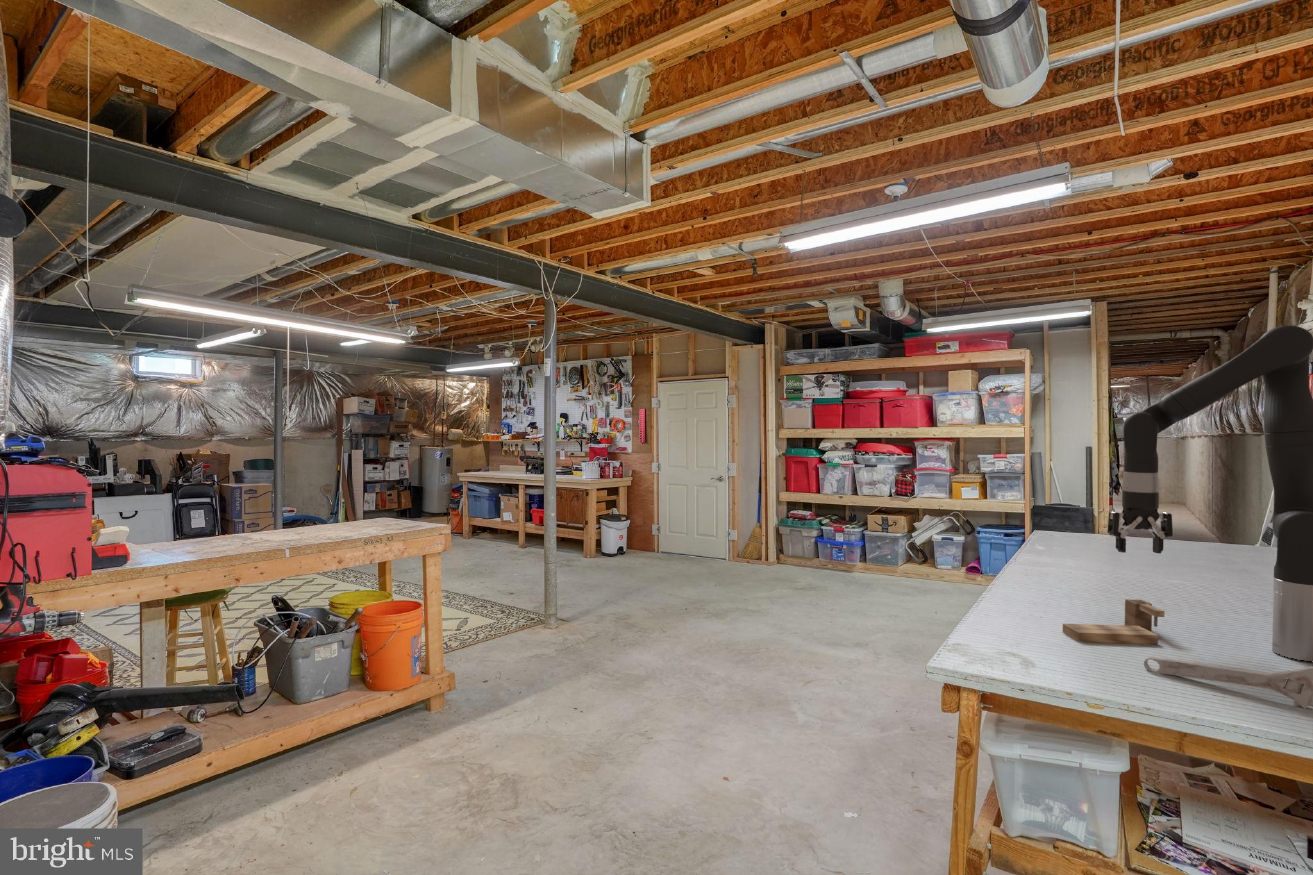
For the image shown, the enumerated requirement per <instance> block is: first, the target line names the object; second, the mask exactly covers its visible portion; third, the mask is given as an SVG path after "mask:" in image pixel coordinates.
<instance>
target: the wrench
mask: <svg viewBox="0 0 1313 875" xmlns="http://www.w3.org/2000/svg"><path fill="white" fill-rule="evenodd" d="M1149 660H1150V661H1151V660H1152V661H1155V663H1156V662H1157V663H1158V666H1159V668H1153V667H1151V666H1150V665H1149V662H1148V661H1149ZM1143 666H1144V669H1146V670H1147V671H1148V672H1149V671H1150V672H1152V673H1157V674H1163V675H1169V676H1170V675H1171V676H1178V677H1186V678H1192V679H1198V680H1207V681H1211V682H1212V681H1213V682H1220V683H1226V684H1235V685H1241V686H1247V687H1252V688H1253V687H1254V688H1261V689H1265V690H1266V689H1267V690H1271V691H1274V692H1276V693H1279V694H1281V695H1284V696H1285V697H1287V698H1289V699H1291V700H1292V701H1294V702H1293V705H1295V706H1297V707H1300V708H1302V709H1304V710H1306V709H1307V707H1308V706H1309V707H1313V665H1312V666H1308V667H1304V668H1300V669H1293V670H1287V671H1278V672H1265V671H1258V670H1257V671H1256V670H1251V669H1244V668H1236V667H1229V666H1228V667H1227V666H1221V665H1215V664H1209V663H1208V664H1207V663H1200V662H1192V661H1187V660H1179V659H1173V658H1165V657H1158V656H1148V657H1147V658H1145V660H1144V661H1143Z"/></svg>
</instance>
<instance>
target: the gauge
mask: <svg viewBox="0 0 1313 875" xmlns="http://www.w3.org/2000/svg"><path fill="white" fill-rule="evenodd" d="M1124 600H1125V601H1124V625H1127V626H1140V627H1142V628H1144V629H1146V630H1148V631H1150V632H1152V630H1153V629H1152V626H1153V627H1156V628H1158V618H1165V614H1166V613H1165V610H1163V609H1161V608H1158V607H1156V606H1153V604H1152V603H1150V602H1148V601H1145V600H1143V599H1129V598H1127V599H1124ZM1152 621H1153V622H1152ZM1152 623H1153V624H1152Z"/></svg>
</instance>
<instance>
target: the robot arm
mask: <svg viewBox="0 0 1313 875" xmlns="http://www.w3.org/2000/svg"><path fill="white" fill-rule="evenodd" d="M1312 352H1313V334H1312V333H1311V332H1310V331H1309V330H1307V329H1306V328H1303V327H1301V326H1298V325H1297V326H1296V325H1289V324H1288V325H1281V326H1276V327H1274V328H1271V329H1269V330H1267V331H1266V332H1265V333H1263V335H1261V337H1260V338H1259V339H1258V340H1256V341H1255V342H1254V343H1252V344H1251V345H1250V346H1249V347H1247V348H1246V349H1245V350H1244V351H1242V352H1241V353H1239V354H1238V355H1236V356H1235V357H1233V358H1231V359H1230V360H1229V361H1226V362H1225V363H1223V364H1221V365H1220V366H1218V367H1216V368H1214V369H1212V370H1210V371H1208V372H1207V373H1205V374H1202V375H1201V376H1199V377H1197V378H1195V379H1193V380H1191V381H1188V382H1187V383H1185V384H1183V385H1181V386H1180V387H1179V388H1176V389H1175V390H1173V391H1171V392H1170V393H1168V394H1166V395H1165V396H1164V397H1163V396H1162V397H1161V399H1160V400H1158V401H1157V402H1155V403H1153V404H1151V405H1150V406H1148V407H1146V408H1144V409H1142V410H1140V411H1138V412H1134V413H1132V414H1130V415H1128V416H1127V417H1126V418H1125V420H1124V422H1123V432H1122V433H1123V443H1124V456H1123V457H1124V458H1123V476H1122V480H1121V481H1122V482H1121V483H1122V485H1121V489H1122V490H1121V491H1122V492H1121V506H1122V510H1121V512H1117V511H1112V510H1110V511H1109V512H1108V521H1107V534H1109V535H1111V536H1114V537H1115V549H1116V550H1117V552H1119V553H1122V554H1123V553H1127V552H1126V551H1127V538H1126V537H1127V536H1128V535H1129V533H1132V532H1133V531H1134V530H1146V531H1148V532H1150V533H1151V534H1152V536H1153V537H1152V552H1153V553H1155V554H1162V552H1163V551H1164V541H1165V539H1166V538H1169V537H1173V534H1174V533H1173V515H1172V513H1169V512H1164V511H1161V512H1158V510H1159V507H1160V506H1159V505H1160V479H1159V478H1160V477H1159V454H1158V451H1157V449H1158V448H1157V447H1158V434H1159V433H1161V432H1163V431H1165V430H1166V429H1168V428H1170V427H1172V426H1173V425H1175V424H1176V423H1177V422H1181V421H1182V420H1184V419H1187V418H1189V417H1191V416H1193V415H1195V414H1197V413H1198V412H1201V411H1203V410H1204V409H1206V408H1208V407H1209V406H1211V405H1213V404H1215V403H1216V402H1219V401H1220V400H1222V399H1223V398H1224V397H1226V396H1227V395H1229V394H1230V393H1232V392H1234V391H1236V390H1237V389H1239V388H1240V387H1242V386H1244V385H1246V384H1248V383H1250V382H1252V381H1253V380H1256V379H1257V378H1260V377H1262V379H1263V385H1264V405H1263V406H1264V408H1263V434H1264V442H1265V451H1266V457H1267V462H1268V467H1269V472H1270V473H1269V474H1270V477H1271V481H1272V487H1273V514H1272V532H1273V534H1274V536H1275V537H1276V544H1277V545H1276V561H1275V565H1274V566H1273V592H1272V593H1273V596H1272V599H1273V600H1272V604H1273V605H1272V636H1271V637H1272V638H1271V639H1272V641H1271V642H1272V643H1271V646H1272V647H1271V651H1272V652H1273V653H1275V654H1276V653H1277V655H1278V654H1280V655H1279V656H1281V657H1284V656H1285V657H1284V658H1287V657H1288V658H1287V659H1291V658H1294V659H1293V660H1295V659H1297V660H1296V661H1300V660H1305V661H1304V662H1306V661H1313V395H1312V392H1311V389H1310V383H1309V382H1310V381H1309V363H1310V361H1309V360H1310V355H1311V353H1312ZM1121 520H1123V521H1122V522H1121V524H1120V521H1121ZM1158 520H1159V521H1160V526H1159V524H1158V523H1157V522H1158Z"/></svg>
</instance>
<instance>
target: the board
mask: <svg viewBox="0 0 1313 875" xmlns="http://www.w3.org/2000/svg"><path fill="white" fill-rule="evenodd" d="M1062 633H1063V634H1064V635H1065V634H1066V635H1067V637H1068V636H1069V637H1070V638H1071V639H1073V640H1075V641H1076V642H1080V643H1081V642H1082V643H1085V642H1086V643H1107V644H1109V643H1111V644H1112V643H1113V644H1138V645H1139V644H1140V645H1141V644H1142V645H1158V644H1159V635H1158V634H1156V633H1154V632H1152V631H1148V630H1146V629H1144V628H1142V627H1140V626H1127V625H1125V624H1124V625H1123V624H1122V625H1121V624H1120V625H1119V624H1118V625H1117V624H1095V623H1094V624H1088V623H1062Z"/></svg>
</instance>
